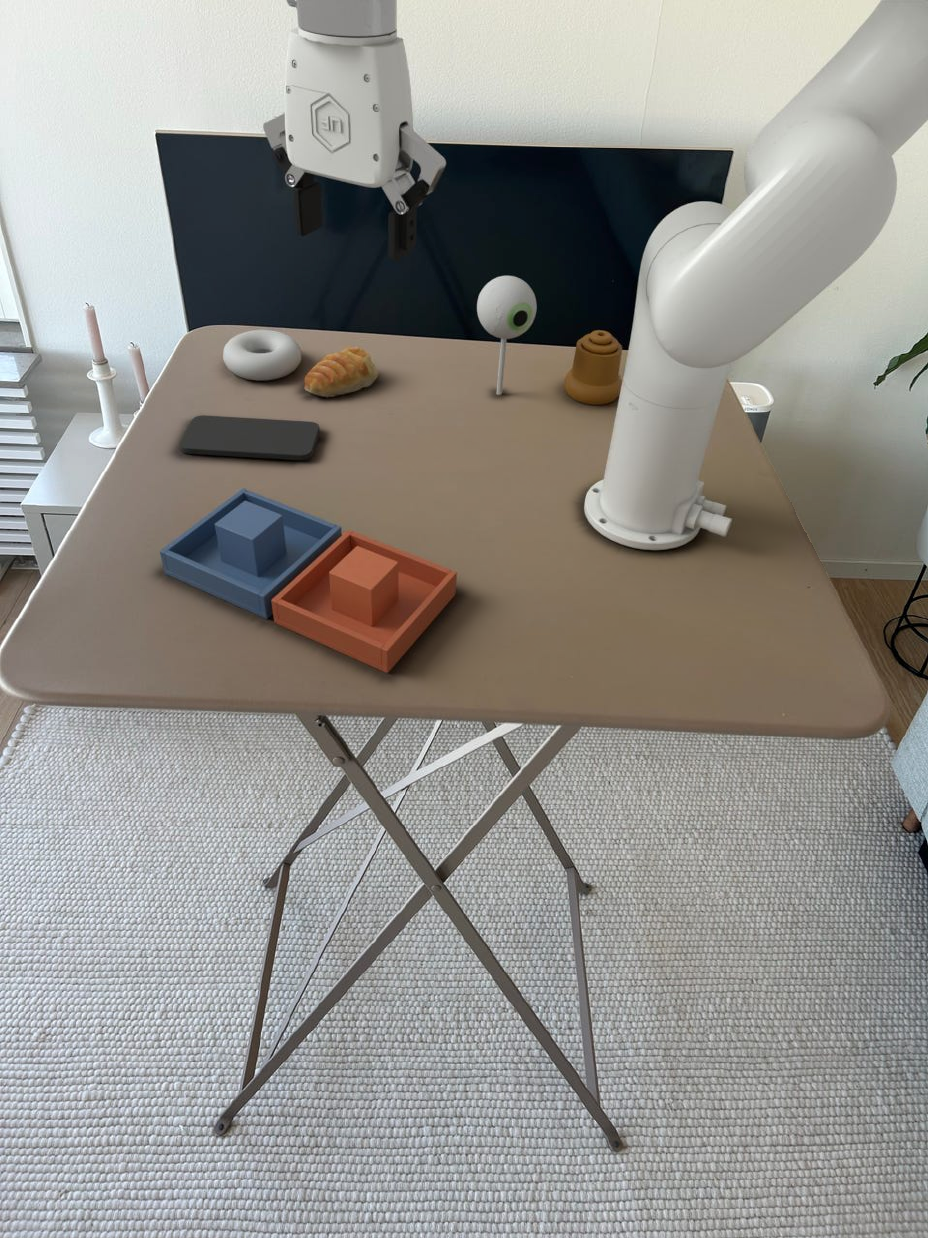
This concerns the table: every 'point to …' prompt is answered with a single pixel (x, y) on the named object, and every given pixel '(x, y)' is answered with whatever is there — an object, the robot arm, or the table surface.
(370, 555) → the terracotta block
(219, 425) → the phone
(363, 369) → the pastry
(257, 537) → the slate block
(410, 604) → the terracotta bin
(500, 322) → the lollipop
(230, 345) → the donut
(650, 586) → the table surface
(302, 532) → the slate bin
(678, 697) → the table surface
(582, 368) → the ornamental finial
